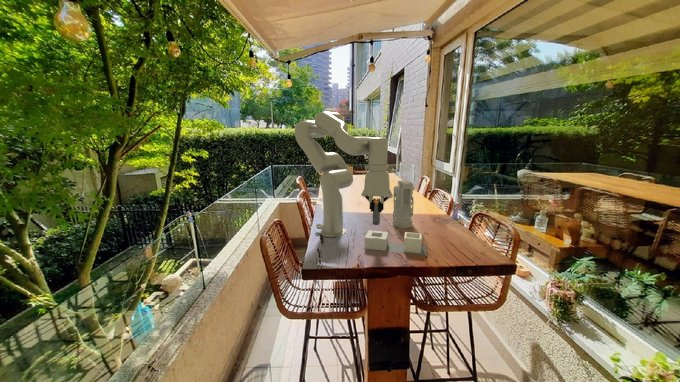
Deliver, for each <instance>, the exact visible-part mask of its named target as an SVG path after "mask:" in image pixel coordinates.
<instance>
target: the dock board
mask: <svg viewBox="0 0 680 382" xmlns="http://www.w3.org/2000/svg"><path fill="white" fill-rule="evenodd" d="M422 237H423V236H422V233H421V232H409V231H408V232H407V231H405V232H404V237H403V243H402V242H401V243H400V242H390V241H389V231H380V230H370V229H369V230H367V233H366V234H365V237H364V244H363V246H362V248H361V250H368V251H378V252H385V253H386V252H387V253H397V254H405V255H406V254H407V255H414V256H415V255H416V256H425V257H424V258H425V259H427V246H426V245H423V244H422V240H423V239H422Z"/></svg>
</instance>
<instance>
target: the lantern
mask: <svg viewBox="0 0 680 382" xmlns="http://www.w3.org/2000/svg"><path fill="white" fill-rule="evenodd" d="M414 190H415V187H414V184H413V183H412V181H411V180H399V181H397V185H396V186H393V197H392V198H393V199H392V201H393V212H392V223H393V226H394V227H396V228H397V227H398V229H409V228H411V227H412V226H413V219H412V217H413V215H414V201H415V200H414V196H413V194H414Z"/></svg>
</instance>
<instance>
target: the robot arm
mask: <svg viewBox="0 0 680 382" xmlns="http://www.w3.org/2000/svg"><path fill="white" fill-rule="evenodd" d="M348 129H349V128H348V124H347V123H346V122H344V118H343V116H342V115H341V114H340V113H338V112H335V111H320V112H318V113H317V114H315V117H314V120H309V119H308V120H307V119H305V120H301V121H299V122H297V123H296V124H295V127H294V136H295V140H296V143H297V144H298V146H299V147H300V148H301V150H302V151H303V152H304V154H305V155H306V157H307V158H308V160H309V161H310V163H311V165H312V167H313V168H314V170H315V171H316V172H318V173H322V174H321V176H320V178H319V180H320V181H319V182H320V183H319V184H320V187H321V192H322V193H321V194H322V206H323V207H322V208H323V212H322V213H323V223H322V224H321V223H316V227H315V228H316V229H318V230H321V231H320V234H321V236H322V237H324V238H325V237H326V238H334V239H335V238H337V237H339V236H342V235H345V234H346V232H347V230H346V228H344V224H343V223H344V222H343V221H344V219H343V217H344V216H343V212H344V211H343V208H344V207H343V196H342V194H341V191H340V190H341V189H345V188H349V187H351V186H352V185H353V182H354V177H353V174H352V171H351V170H350V168H349V166H348V164H347V163H346V162H345V160H344V158H343V157H342V156H341V155H340V154H338V153H337V152H333V151H331V152H327V151H325V150H324V149H323V147H322V145H321V144H320V143H319V142H318V141H316V139H314V138H324V137H327V136H330V137H331V138H333V139H334V143H335V145H336V146H337V148H339V150H341V151H343V152H344V153H346V154H348V155H350V156H355V157H356V156H364V155H368V163H367V164H364V169H367V171H366V172H365V177H364V189H362V192H361V195H360V196H362V197H363V198H365V199H366V200H367V201H368V203H369V210H370V212H371V213H373V197H379V198H380V208H379V212H380V214H381V213H382V212H383V211H384V207H385V206H384V204H385V202H386V201H388V200H390V199H392V198H393V197H394V194H393V193H392V191H391V189H390V188H391V187H390V173H389V171H388V151H389V150H388V149H389V148H388V147H389V146H388V145H389V143H388V142H389V141H388V138H386V137H380V136H378V137H377V136H375V137H372V136H353V135H351V134H349V133H348Z"/></svg>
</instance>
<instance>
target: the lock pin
mask: <svg viewBox="0 0 680 382" xmlns="http://www.w3.org/2000/svg"><path fill="white" fill-rule="evenodd" d="M380 202H381V197H379V198H378V197H376V198H375V197H374V198H373V212H372V225H373V226H379V225H380V223H381V222H380V221H381V220H380V219H381V213H380V212H379V208H380Z"/></svg>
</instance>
